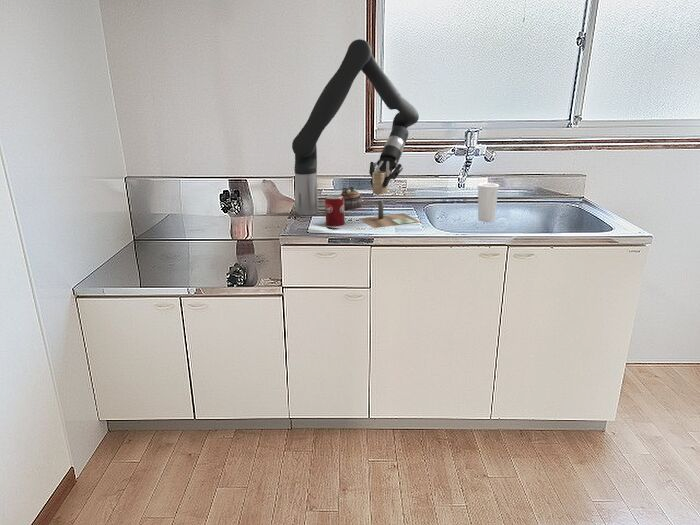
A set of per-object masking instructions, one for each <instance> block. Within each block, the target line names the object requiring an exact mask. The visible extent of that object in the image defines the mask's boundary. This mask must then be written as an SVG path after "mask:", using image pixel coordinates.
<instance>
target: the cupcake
mask: <svg viewBox="0 0 700 525" xmlns="http://www.w3.org/2000/svg"><path fill="white" fill-rule="evenodd" d="M339 195H341V196H343V197H344V212H346V211H348V210H355V209H360V208H362V206H363V205H362V203H363V200H364V199H363V198H362V197H361V193H360V192H358V190H357V189H356V188H355V187H353V186H349V187H348V188H347V187H342V190H341V193H340V194H339Z"/></svg>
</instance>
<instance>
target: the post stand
mask: <svg viewBox="0 0 700 525" xmlns="http://www.w3.org/2000/svg"><path fill="white" fill-rule="evenodd" d="M377 205H378V206H377V207H378V208H377V209H378V210H377V212H378V213H377V214H378V215H376V216H368V217H359V218H358V220H360V221H361V222H364V223H365V225H366V224H367V225H368V226H370V227H371V228H373V229H377V228H386V227H394V226H402V225H411V224H419V223H422V221H420V220H419V219H416V218H415V217H413V216H411V215H409V214H407V213H394V214H387V215H384V200H378V202H377Z"/></svg>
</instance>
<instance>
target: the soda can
mask: <svg viewBox="0 0 700 525" xmlns="http://www.w3.org/2000/svg"><path fill="white" fill-rule="evenodd" d="M324 207H325V208H324V210H325V226H326V229H328V230H332V231H337V230H340V228H338V227H341V226H344V225H345V224H346V221H345V220H346V219H345V216H346V215H345V213H346V212H345V211H344V197H343V196H341V195H340V194H332V195H327V196H325V198H324Z"/></svg>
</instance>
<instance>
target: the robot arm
mask: <svg viewBox="0 0 700 525" xmlns="http://www.w3.org/2000/svg"><path fill="white" fill-rule="evenodd" d="M379 65H380V64H378V62H377V60H376V58H375V56H374V55H373V53H372V47H371V45H370V43H369V42H368V41H367V40H365V39H360V38H359V39H354V40H352V41H351V42H350V43H349V45H348V47H347V50H346V54H345V56H344V57H343V60H342V62H341V64H340V66H339V67H338V69H337V70H336V72H335V73H334V75H332V77H331V78H330V79H329V80H328V82H327V83H326V85H325V87H324V88H323V90H322V91H321V93H320V95H319V97H318V99H317V100H316V102H315V103H314V106H313V108H312V110H311V112H310V114H309V117H308V119H307V120H306V123H305V124H304V126H303V127H302V128H301V129H300V131H299V133H297V135H296V136H295V137H294V138H293V140H292V144H291V148H292V151H293V154H294V182H295V183H294V185H295V190H294V191H293V192H294V205H295V208H294V209H295V213H296V214H297V215H299V216H312V215H316V214H318V213H319V195H318V190H319V189H318V174H317V168H318V153H317V152H318V151H317V144H318V143H317V142H318V141H319V139H320V137H321V135H322V133H323V131H324V130H325V129H326V127H327V126H328V125H329V124H330V122H331V121H332V120H333V118H335V116H336V115H337V113H338V112H339V110H340V108H341V107H342V105H343V103H344V102H345V100H346V99H347V96H348V94H349V92H350V90H351V88H352V85H353V83H354V81H355V80H356V78H357V76H358V75H359V74H360V72H362V73H363V74H364V75H365V76H366V78H367V79H368V81H369V82H370V84H371V85H372V86H373V88H374V90H375V91H376V93H377V94H378V96H379V98H380V99H381V100H382V101H383V102H384V104H385V105H386V107H387V109H389V110H393V111H394V110H396V111H397V113H396V114H395V116H394V117H393V120H392V125H391V131H390V133H389V136H388V138H387V140H386V142H385V143H384V145H383V148H382V151H381V153H380V155H379V159H378V160H377V161H376V162H374V161H370V163H369V164H370V165H369V175H370V177H371V179H370V185H371V187H373V172H377V171H383V172H387V174H386V177H385V179H384V181H383V183H382V186H383V187H384V188H386V187H387V186H388V187H389V183H390V181H391V180H396V178H397V177H398V176H399V175H400V174H401V172H402V171H403V165H402V164H401V163H399V161H400V159H401V157H402V153H403V152H404V149H405V145H406V143H407V140H408V138H409V130H408V128H409V127H411V126H414V125H416V123H418V122H419V118H420V117H419V112H418V110H417V109H416V108H415V106H414V105H413V104H411V103H410V102H409V101H408V99H406V98H404V97H403V95H401V93H400V92H399V90H398V89H397V87H396V86H395V85H394V84H393V82H392V81H391V79H389V76H387V75H386V74H385V73H384V71H383V70H382V68H381V67H380V66H379Z"/></svg>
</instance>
